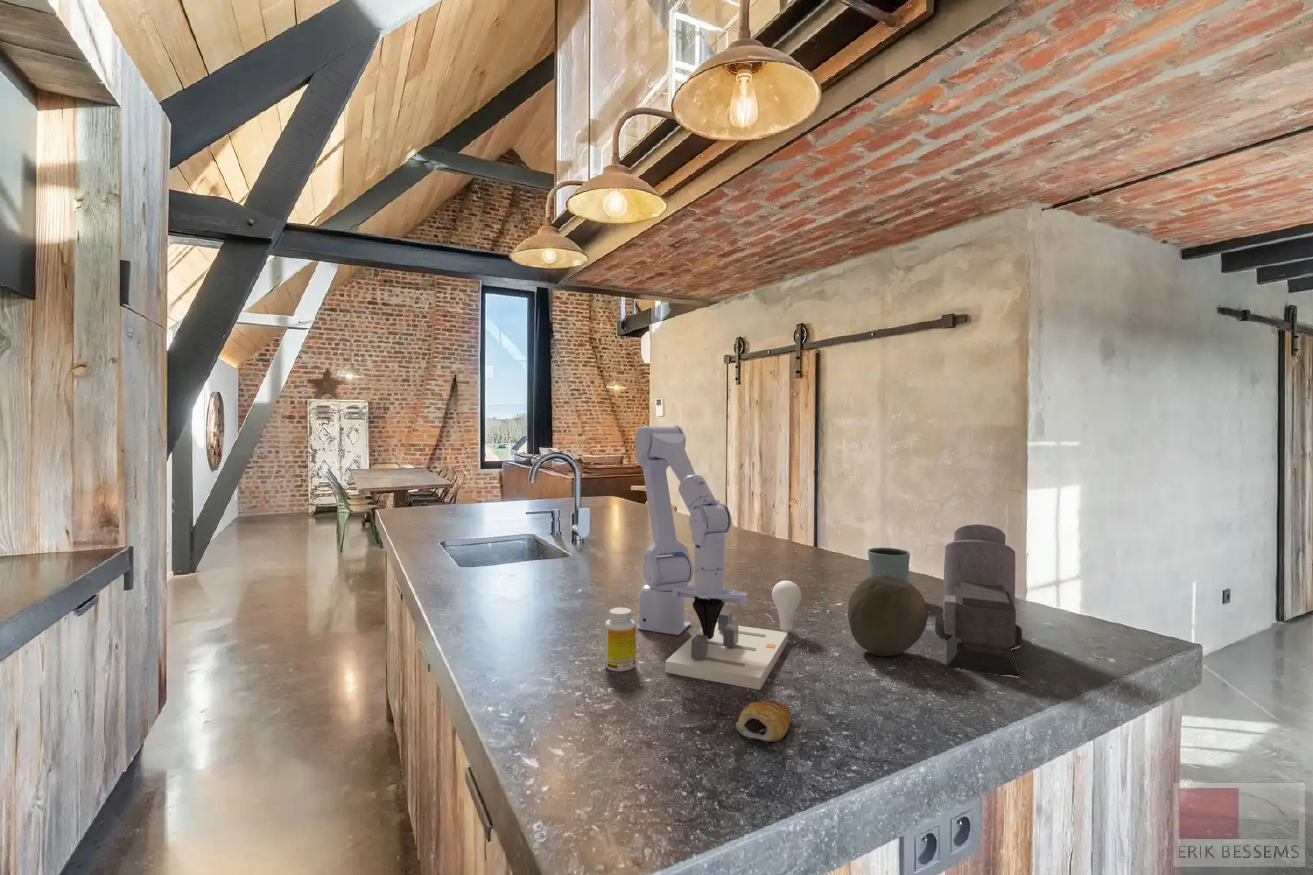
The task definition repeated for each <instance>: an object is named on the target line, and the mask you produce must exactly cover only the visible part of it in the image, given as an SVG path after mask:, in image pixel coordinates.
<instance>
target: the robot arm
mask: <svg viewBox="0 0 1313 875" xmlns="http://www.w3.org/2000/svg"><path fill="white" fill-rule="evenodd" d="M635 434H636V435H635V438H634V445H635V452H636V453H635V455H636V459H637V460H636V461H637V465H638V466H640V467H641V468H642V472H643V478H644V484H645V494H646V499H647V505H648V514H649V515H648V516H649V521H650V526H651V527H650V528H651V535H652V540H653V542H652V543H651V545H650V546H649V547H648V548H647V549H646V550H645V551H644V553H643V569H642V574H643V579H644V581H645V583H646V584H644V585H643V587H641V590H640V595H639V600H638V602H639V607H638V608H639V615H638V616H639V617H638V618H639V620H638V621H639V622H638V624H639V625H637V630H641V631H649V632H655V633H662V634H667V635H675V636H678V635H680V634H681V633H682V632H684V631H685V630H686V629H687V628H688V627H690V626H691V624H692V622H690V621H685V616H686V615H685V608H686V606H685V604H686V603H685V600H686V599H685V598H689V599H690V598H691V599H694V601H693V602H692V608H693V610H694V611H695V613H696V616H697V618H698V620H699V623H700V626H701V627H702V631H703V635H705V636H708V639H711V638H712V637H713V636H714V631H715V626H716V623H718V617H719V614H720V612H721V611H723V608H724V606H725V605H726V603H728V604H729V603H730V604H737V605H739V606H746V605H747V603H748V593H747V592H744V591H743V592H742V591H738V590H733V589H730V588H729V589H728V588H725V550H726V549H725V546H726V545H725V540H726V539H725V537H726V536H725V535H726V534H727V533H728V532H729V531H730V530H731V529H730V528H731V525H732V516H731V512H730V510H729V507H728V505H727V504H725V503H722V502H721V501H720V500H718V499H716V498H715V496H714V494H713V493H712V491H711V489H710V487H709V485H708V483H707V482H706V480H705V478H704V477H703V476H702V475H699V474H696V472H695V470H694V468H693V465H692V463H691V461H690V458H689V455H688V453H687V451H686V443H687V437H686V435H685V433H684V430H683V428H682V427H681V426H679V425H674V426H668V425H667V426H663V425H662V426H660V425H658V426H655V425H654V426H653V425H652V426H651V425H650V426H649V425H641V426H640V427H639V428H638V430H637V431H636V433H635ZM669 467H670V468H671V470H672V471H673V473H674V474H675V476H676V477H677V480H679V484H678V489H677V490H678V492H679V494H680V496H681V498H682V500H683V503H684V504H685V506H686V508H687V510H688V512H689V518H688V524H689V528H690V531H691V540H692V543H693V544H694V564H693V561H692V559H691V557H690V554H689V549H688V547H687V546H686V545H685V544H683V543H682V542H680V540H678V539H677V535H676V534H677V533H676V527H675V520H674V516H673V515H674V514H673V509H672V508H673V507H672V503H671V502H672V501H671V495H670V488H669V482H668V476H667V470H668V468H669ZM658 556H659V557H658ZM693 576H694V584H692V585H689V583H690V582H691V581H692V579H693ZM701 627H700V628H701Z"/></svg>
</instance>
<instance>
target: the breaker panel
mask: <svg viewBox="0 0 1313 875" xmlns="http://www.w3.org/2000/svg"><path fill="white" fill-rule="evenodd" d="M697 634H699V635H703V631H702V627H700V628H699V629H698V630H697V631H696V632H695V633H694V634H693V635H691V637H689V639H687V641H685V642H684V643H683V644H682V645H680V647H679V648H678V649H677V650H676V651H675V652H673V653H672V654H671V655H670V656H669V657H668V658H667V659H666V660H665V664H664V665H665V667H664V668H665V670H664V671H665V673H667V674H672V675H678V676H683V677H689V678H695V679H699V680H705V681H711V682H715V683H721V684H727V685H731V686H732V685H733V686H737V687H742V688H747V689H754V690H759V691H760V690H761V689H762V687H763V685H764V684H765V682H766V680H767V678H768V677H769V675H770V674H771V673H772V672H771V671H772V670H773V668H774V666H775V665H776V664H777V662H778V660H779V659H780V657H781V654H782V653H783V651H784V649H785V648H786V646H787V645H788V643H789V637H788V636H789V632H787V633H786V632H784V631H779V630H772V629H766V628H757V627H750V626H746V625H745V626H743V625H738V643H737V644H736V645H735V646H734V647H727V646H723V631H721V630H718V622H717V623H716V626H715V631H714V636H713V637H712V638H711V639H708V654H707V655H706V656H705V657H704V658H703V659H702V660H701V659H695V658H691V646H692V639H693V638H694V637H695V636H696V635H697Z"/></svg>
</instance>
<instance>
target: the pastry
mask: <svg viewBox="0 0 1313 875" xmlns="http://www.w3.org/2000/svg"><path fill="white" fill-rule="evenodd" d="M790 721H791V712H790V709H789V707H788V706H787V705H786V704H783V703H781V702H778V701H777V700H774V699H768V700H761V701H755V702H750V703H749V704H748V706H745V707H744V708H742V710H741V711H740V713H739V719H738V721H736V723H735V728H736V730H737V731H738V733H739V734H741V735H742V736H744V737H746V738H751V739H755V740H760V741H764V742H767V743H768V742H769V743H771V742H778V741H780V740H782V739H783V738H784V737H785V736H786V734H787V732H788V729H789V726H790Z"/></svg>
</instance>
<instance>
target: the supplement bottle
mask: <svg viewBox="0 0 1313 875" xmlns="http://www.w3.org/2000/svg"><path fill="white" fill-rule="evenodd" d="M608 617H609V618H608V619H607V620H606V621H605V624H604V666H605V667H606V668H607V669H608V670H610V671H613V672H618V673H619V672H627V671H629V670H632V669H634V667H635V665H636V629H637V628H636V627H637V626H636V621H635V620H634V619H632V617H633V616H632V609H630V608H628V607H614V608H611V609H610V610H609V616H608Z"/></svg>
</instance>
